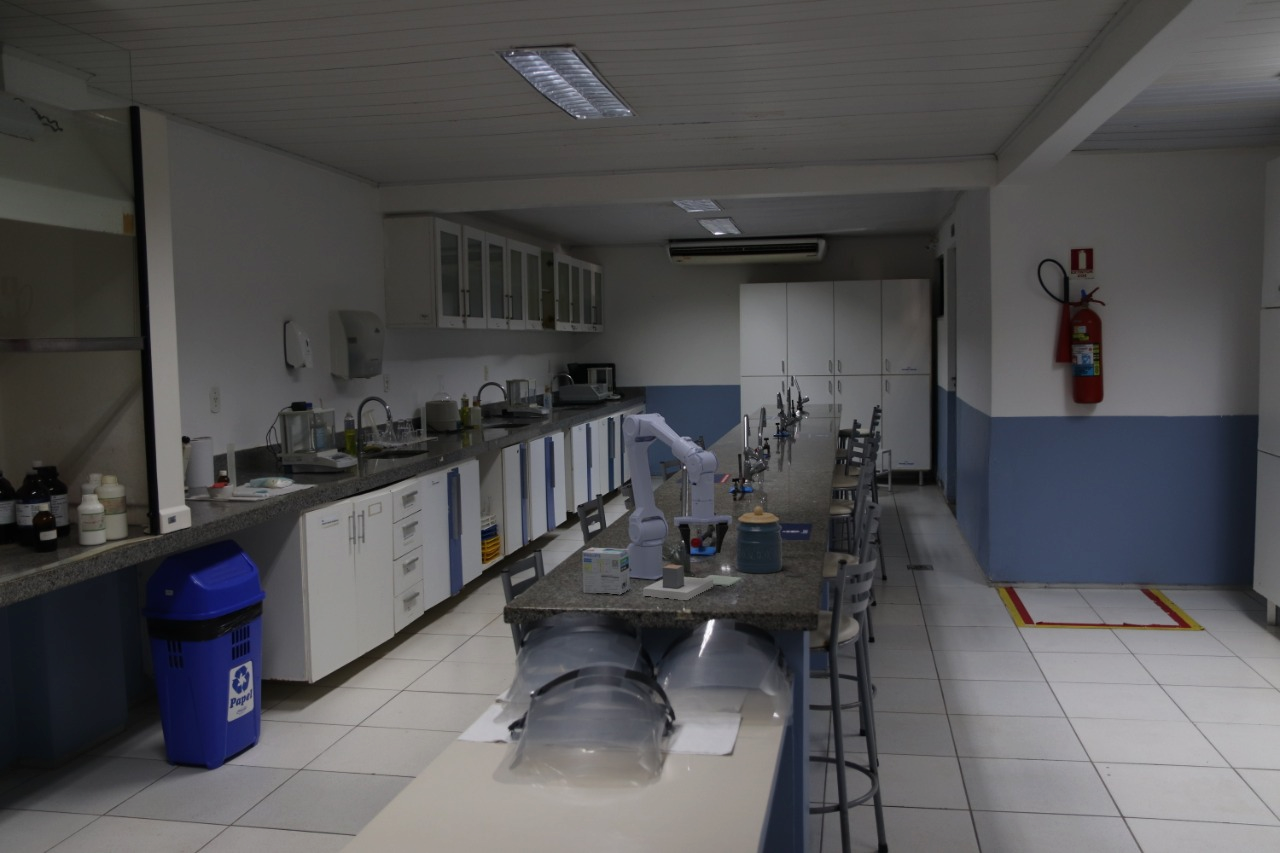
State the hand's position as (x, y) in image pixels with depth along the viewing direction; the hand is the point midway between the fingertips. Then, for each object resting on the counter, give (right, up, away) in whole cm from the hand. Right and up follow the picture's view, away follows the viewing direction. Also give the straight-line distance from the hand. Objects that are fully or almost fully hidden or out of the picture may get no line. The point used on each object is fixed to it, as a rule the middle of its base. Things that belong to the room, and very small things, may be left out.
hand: (703, 552), depth 255 cm
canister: (+17, -8, +25) cm, 31 cm away
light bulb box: (-25, -10, +2) cm, 27 cm away
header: (-6, -10, 0) cm, 12 cm away
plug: (-8, -10, -3) cm, 13 cm away
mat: (+5, -9, +10) cm, 14 cm away
